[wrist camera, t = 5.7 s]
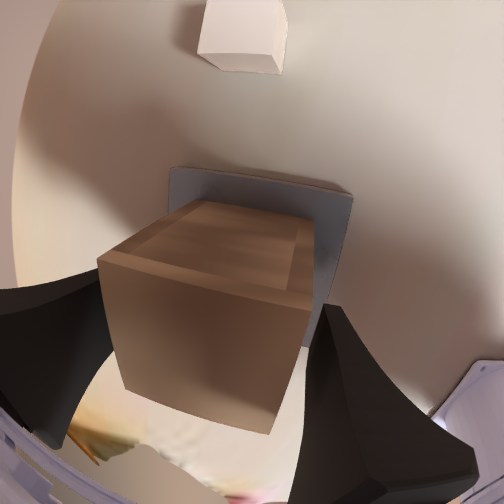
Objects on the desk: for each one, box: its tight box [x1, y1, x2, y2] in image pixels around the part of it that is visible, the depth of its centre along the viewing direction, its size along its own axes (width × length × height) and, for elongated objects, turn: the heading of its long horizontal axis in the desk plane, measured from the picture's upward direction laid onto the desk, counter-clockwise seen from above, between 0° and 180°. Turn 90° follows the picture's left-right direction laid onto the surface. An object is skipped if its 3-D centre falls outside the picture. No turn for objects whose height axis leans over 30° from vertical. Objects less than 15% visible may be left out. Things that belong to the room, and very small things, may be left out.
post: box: [168, 166, 353, 347], centre depth 11 cm, size 8×8×6 cm
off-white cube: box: [197, 0, 288, 75], centre depth 8 cm, size 3×3×3 cm
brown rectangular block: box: [97, 199, 314, 435], centre depth 10 cm, size 5×5×7 cm
